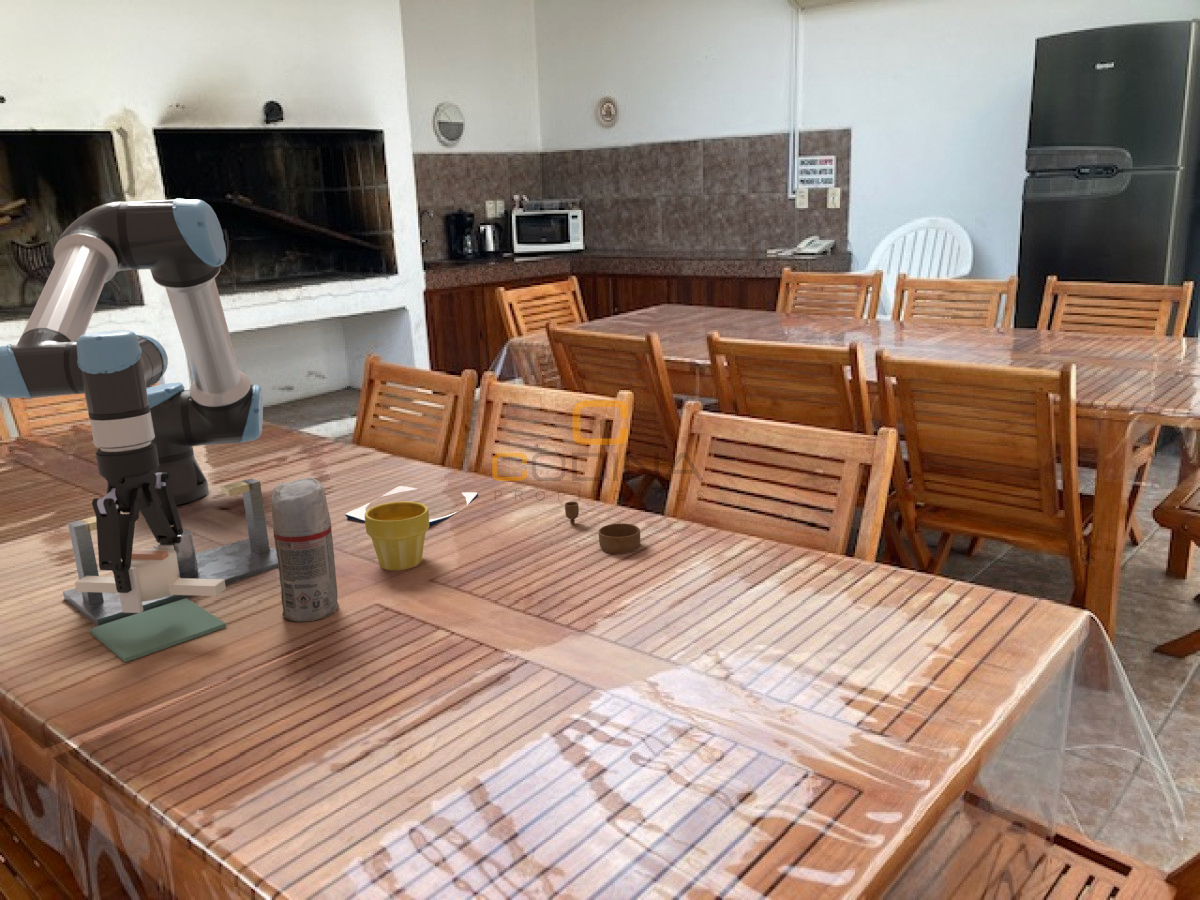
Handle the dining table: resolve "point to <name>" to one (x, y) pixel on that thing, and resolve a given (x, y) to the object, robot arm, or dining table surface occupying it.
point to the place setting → (611, 533)
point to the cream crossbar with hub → (155, 577)
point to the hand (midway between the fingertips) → (152, 598)
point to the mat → (156, 629)
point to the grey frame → (180, 558)
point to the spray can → (304, 550)
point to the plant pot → (398, 533)
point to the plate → (360, 512)
